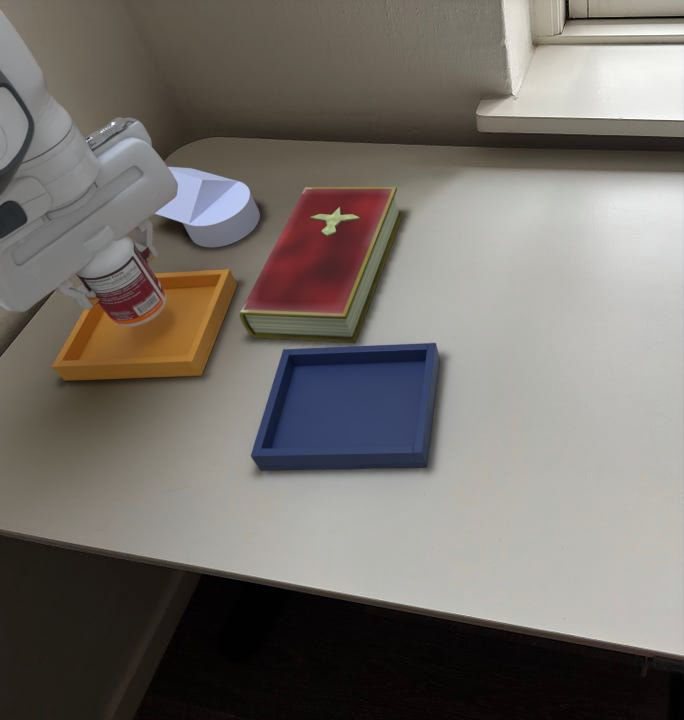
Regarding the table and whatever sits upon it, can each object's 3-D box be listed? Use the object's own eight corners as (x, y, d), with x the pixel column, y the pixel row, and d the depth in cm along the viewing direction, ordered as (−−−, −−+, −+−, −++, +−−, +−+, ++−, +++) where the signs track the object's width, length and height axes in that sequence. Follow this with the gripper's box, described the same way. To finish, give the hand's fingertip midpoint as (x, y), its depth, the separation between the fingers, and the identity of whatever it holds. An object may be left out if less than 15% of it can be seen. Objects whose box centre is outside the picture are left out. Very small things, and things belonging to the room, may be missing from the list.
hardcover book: (250, 337, 77) (235, 310, 74) (312, 212, 90) (301, 184, 87) (355, 342, 74) (344, 314, 71) (403, 213, 87) (395, 184, 84)
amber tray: (64, 381, 76) (51, 366, 74) (113, 290, 85) (102, 276, 83) (201, 375, 74) (191, 360, 72) (237, 284, 83) (229, 268, 81)
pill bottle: (120, 292, 79) (64, 212, 71) (174, 284, 79) (124, 203, 70) (104, 333, 75) (42, 254, 67) (161, 325, 75) (106, 245, 66)
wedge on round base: (153, 230, 92) (226, 254, 87) (127, 186, 87) (203, 210, 82) (201, 189, 96) (273, 210, 91) (179, 146, 91) (254, 165, 86)
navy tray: (259, 470, 66) (250, 456, 64) (290, 364, 74) (283, 349, 72) (426, 467, 63) (421, 452, 62) (440, 358, 72) (436, 342, 70)
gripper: (113, 100, 70) (176, 213, 80) (-82, 225, 60) (20, 335, 70) (153, 113, 67) (214, 229, 77) (-44, 246, 57) (56, 358, 67)
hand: (120, 280), depth 74 cm, fingers closed on pill bottle, 6 cm apart
